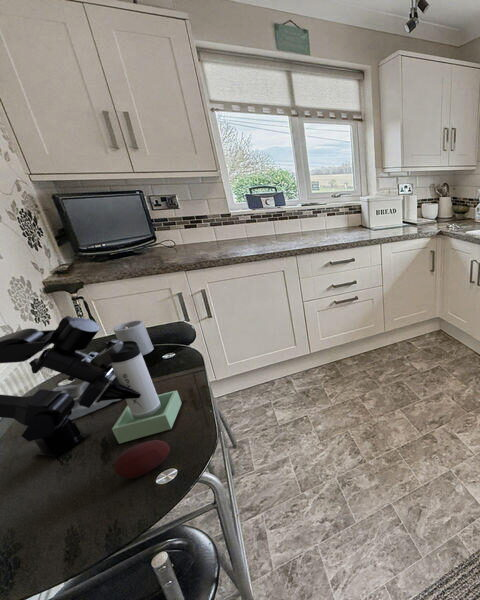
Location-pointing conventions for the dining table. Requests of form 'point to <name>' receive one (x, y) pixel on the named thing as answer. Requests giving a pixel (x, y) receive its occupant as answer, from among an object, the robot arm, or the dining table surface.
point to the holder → (148, 419)
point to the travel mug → (135, 379)
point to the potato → (141, 459)
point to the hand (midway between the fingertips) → (144, 389)
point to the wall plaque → (76, 393)
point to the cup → (135, 335)
